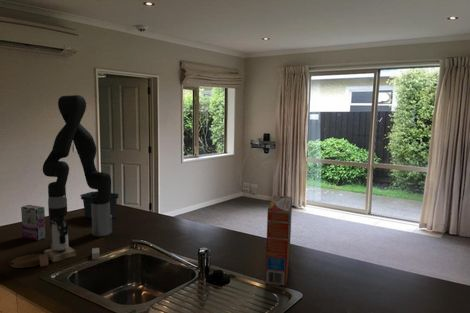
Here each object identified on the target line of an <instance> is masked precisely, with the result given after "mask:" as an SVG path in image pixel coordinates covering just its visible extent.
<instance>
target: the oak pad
mask: <svg viewBox="0 0 470 313" xmlns="http://www.w3.org/2000/svg"><path fill="white" fill-rule="evenodd" d="M44 254H47V256H48V258H49V259H50V260H51V263H56V262H60V261H64V260H67V259H71V258H73V257H77V250H76V249H74V248H72V247H71V246H69V245H68V248H67V249H64V250H59V251H57V250H54V249H53V248H52V249H51V248H49V249H45V250H43V255H44ZM49 259H48V260H49ZM50 260H49V261H50Z"/></svg>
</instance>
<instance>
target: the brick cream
mask: <svg viewBox="0 0 470 313" xmlns="http://www.w3.org/2000/svg"><path fill="white" fill-rule="evenodd" d="M100 257H101V256H100V247H92V249H91V259H92V260H98V259H99V260H100V259H101V258H100Z"/></svg>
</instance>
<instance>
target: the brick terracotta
mask: <svg viewBox="0 0 470 313" xmlns="http://www.w3.org/2000/svg"><path fill="white" fill-rule="evenodd" d="M38 260H39V261H40V262H39V266H40V267H45V266H49V259H48V256H47V254H44V253H43V254H39V255H38Z"/></svg>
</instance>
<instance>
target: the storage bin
mask: <svg viewBox="0 0 470 313" xmlns="http://www.w3.org/2000/svg"><path fill="white" fill-rule="evenodd" d="M97 194H98V190H97V191H96V190H95V191H89V192H87V193H86V192H85V193H82V194H80V195H79V196H80V200H82V203H83V210H84V218H86V219H87V218H88V219H92V213H91V198H92V197H93V196H96V195H97ZM119 195H120V194H119V193H115V192H111V196H110V215H111V216H112V219H113V218H115V217H116V216H117V200H118V199H119V198H120V197H119Z"/></svg>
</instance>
